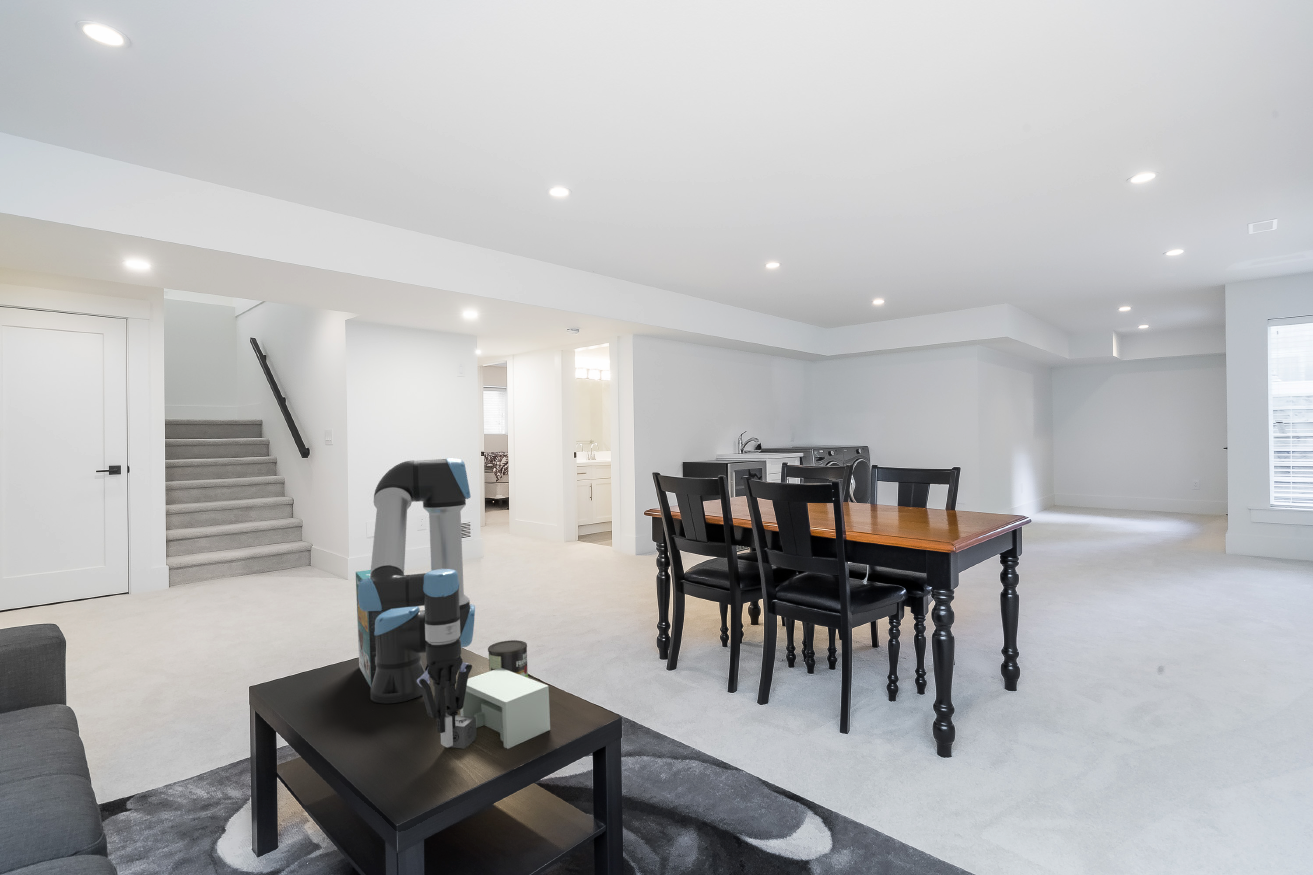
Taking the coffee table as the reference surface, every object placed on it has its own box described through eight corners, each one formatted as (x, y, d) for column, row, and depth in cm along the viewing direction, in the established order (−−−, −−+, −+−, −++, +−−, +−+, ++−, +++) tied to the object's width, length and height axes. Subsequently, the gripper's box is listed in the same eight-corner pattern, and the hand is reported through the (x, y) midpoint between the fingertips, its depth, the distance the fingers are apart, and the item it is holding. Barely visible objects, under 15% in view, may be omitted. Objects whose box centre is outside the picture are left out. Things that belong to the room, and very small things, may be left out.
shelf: (460, 724, 159) (458, 681, 159) (502, 707, 168) (500, 667, 168) (507, 748, 145) (505, 702, 145) (550, 729, 154) (548, 685, 154)
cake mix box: (393, 683, 188) (389, 580, 188) (371, 688, 185) (367, 583, 185) (379, 662, 207) (376, 568, 206) (359, 666, 203) (355, 571, 203)
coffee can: (534, 691, 178) (532, 640, 178) (519, 706, 168) (517, 652, 168) (500, 689, 180) (498, 639, 180) (483, 705, 170) (480, 651, 170)
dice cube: (464, 748, 146) (463, 726, 146) (445, 746, 148) (444, 724, 148) (476, 738, 151) (475, 717, 151) (457, 736, 152) (456, 715, 152)
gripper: (424, 650, 138) (428, 761, 138) (477, 635, 148) (481, 738, 148) (407, 644, 143) (411, 750, 143) (460, 629, 153) (464, 729, 153)
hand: (446, 744), depth 145 cm, fingers closed
